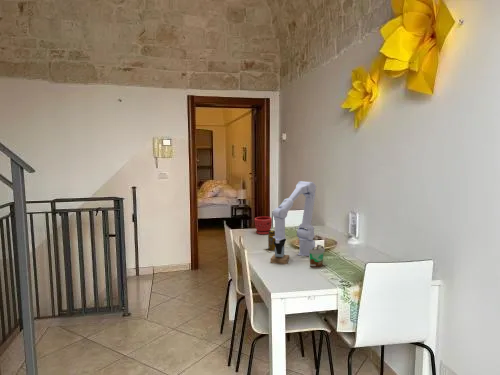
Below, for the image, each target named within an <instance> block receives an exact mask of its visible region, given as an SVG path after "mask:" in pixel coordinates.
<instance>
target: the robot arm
mask: <svg viewBox="0 0 500 375" xmlns="http://www.w3.org/2000/svg"><path fill="white" fill-rule="evenodd" d="M316 188H317V186H316V184H315V182H314V181H304V180H299V181H297V184H296V185H295V188H294V190H293V191H292V193H291V194H290V195H289V197H288V198H284V199H283V201H282V202H281V204H279V206H277V207H275V208H274V209H273V211H272V216H273V220H274V231H275V236H273V238H275V240H276V241H274V245H275V247H276V251H277V254H281V252H282V246H284V247H285V244H286V241H287V238H286V218H287V217H288V213H289V211H290V210H291V208H292V207H293V206H294V202H295V201H296V200H297V199H298V198H299V197H300V195H303V196H304V198H305V200H304V205H303V206H304V207H303V215H302V221H301V223H300V224H299V225H298V228H297V231H296V237H297V238H298V240H299V242H298V243H299V251H298V254H297V256H299V257H300V256H303V257H310V253H309V249H311V250H312V249H313V248H315V247H316V240H314V238H315V228H314V225H312V223H313V222H312V221H313V220H312V219H313V215H314V214H313V213H314V207H315V200H316V190H317V189H316Z"/></svg>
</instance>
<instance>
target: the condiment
mask: <svg viewBox="0 0 500 375" xmlns="http://www.w3.org/2000/svg"><path fill="white" fill-rule="evenodd" d="M273 236H275V230H271V231H269V234H268V238H267V239H268V240H267V241H268V242H267V243H268V244H267V245H268V248H263V251H266V252H269V253H271V252H275V245H274V241H276V240H275V238H273Z"/></svg>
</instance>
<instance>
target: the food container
mask: <svg viewBox="0 0 500 375" xmlns="http://www.w3.org/2000/svg"><path fill="white" fill-rule="evenodd" d="M325 249H326V248H325V246H324V245H321V244H316V246H315V248H313V249H312V250H311V249H309V253H310V256H309V267H310V268H321V267H323V263H324V254H325V252H326V250H325Z"/></svg>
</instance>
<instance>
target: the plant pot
mask: <svg viewBox="0 0 500 375" xmlns="http://www.w3.org/2000/svg"><path fill="white" fill-rule="evenodd" d="M272 225H273V219H272V217H271V216H257V217H254V227H255V229H256V230H255V233H257V234H258V235H263V236H264V235H269V231H272Z"/></svg>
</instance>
